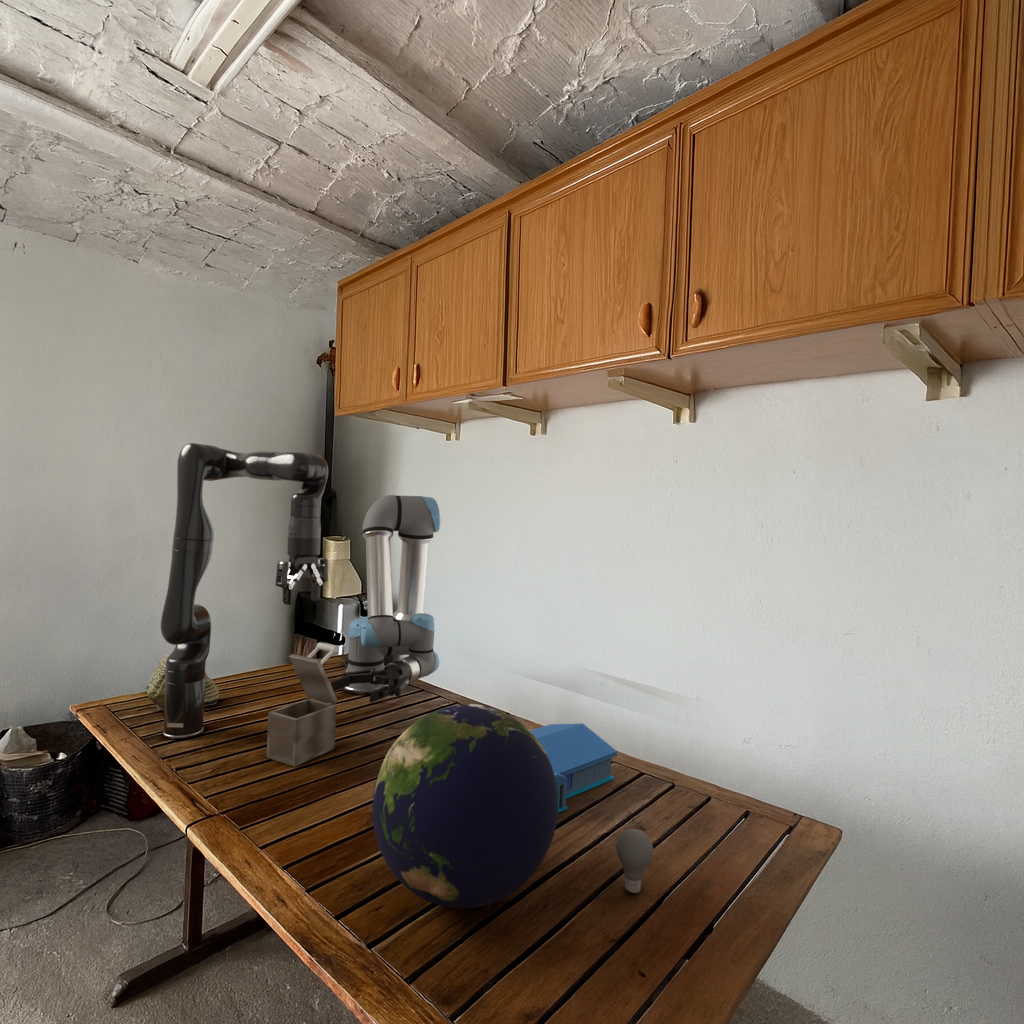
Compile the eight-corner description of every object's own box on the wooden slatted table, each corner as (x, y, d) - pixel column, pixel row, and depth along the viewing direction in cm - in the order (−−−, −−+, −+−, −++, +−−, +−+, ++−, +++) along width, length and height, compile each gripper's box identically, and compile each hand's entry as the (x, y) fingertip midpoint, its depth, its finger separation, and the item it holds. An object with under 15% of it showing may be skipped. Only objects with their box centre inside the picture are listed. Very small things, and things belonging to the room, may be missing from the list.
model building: (497, 839, 120) (500, 786, 120) (424, 791, 138) (425, 745, 138) (625, 783, 146) (627, 740, 146) (549, 749, 164) (551, 711, 164)
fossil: (144, 707, 182) (145, 655, 182) (212, 696, 194) (213, 647, 194) (151, 716, 175) (153, 662, 175) (221, 703, 188) (223, 653, 188)
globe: (328, 919, 95) (336, 721, 95) (427, 827, 123) (434, 674, 122) (512, 985, 84) (522, 760, 83) (576, 867, 112) (584, 698, 111)
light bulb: (610, 879, 108) (613, 822, 108) (644, 879, 109) (647, 822, 109) (619, 902, 102) (622, 840, 102) (655, 901, 103) (658, 840, 103)
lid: (316, 662, 152) (339, 638, 159) (288, 656, 157) (312, 633, 163) (335, 704, 158) (356, 679, 165) (307, 697, 163) (329, 673, 170)
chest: (294, 766, 148) (296, 720, 147) (266, 757, 152) (268, 712, 152) (334, 748, 159) (336, 705, 159) (307, 740, 164) (309, 698, 163)
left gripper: (292, 537, 145) (290, 608, 145) (337, 535, 157) (334, 600, 158) (269, 535, 148) (267, 604, 149) (314, 533, 161) (312, 597, 161)
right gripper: (434, 693, 182) (387, 716, 164) (367, 676, 194) (316, 695, 175) (436, 668, 182) (388, 687, 163) (368, 652, 194) (317, 669, 175)
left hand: (301, 602), depth 153 cm, fingers open, 8 cm apart
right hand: (351, 691), depth 169 cm, fingers open, 13 cm apart
